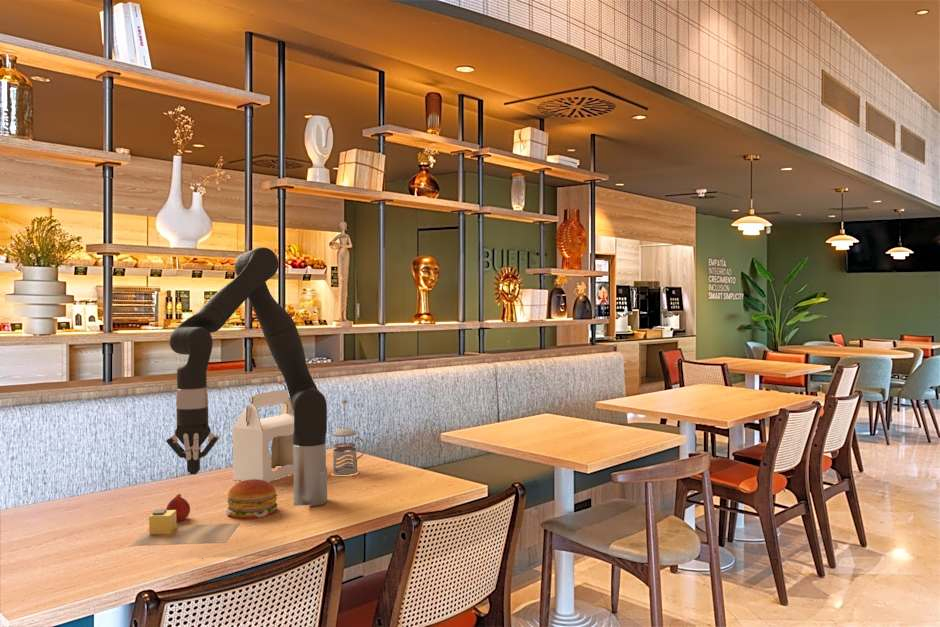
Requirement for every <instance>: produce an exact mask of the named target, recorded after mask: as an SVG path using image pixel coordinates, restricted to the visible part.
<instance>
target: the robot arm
mask: <svg viewBox="0 0 940 627" xmlns="http://www.w3.org/2000/svg"><path fill="white" fill-rule="evenodd" d="M279 263H280V262H279V259H278V256H277V255H276V253H275V252H274V251H273V250H272V249H271V248H268V247H257V248H253V249H250V250H248V251H247V252H243V253H241V254H239V255H238V256H237V257H236V259H235V262H234V270H235V274H236V276H235V277H234V279H232V280H231V281H229V283H227V284H226V285H224V286H223V287H222V288H221V289H220V290H218V291H217V292H216V293H214V295H212V296H211V297H210V298H209V299H208V301H206V302H205V304H204V305H203V306H202V307H201V308H200V309H199V310H198V312H196V313H195V314H193V315H191V316H190V317H189V318H186V320H184V321H182V322H181V323H180V324H179V325H177V326H176V328H174V329H173V331H172V333H171V335H170V338H169V346H170V348H171V350H172V351H173V352H174V353H176V354H179V355H188V358H187V362H186V363H185V364H182V365H179V366H178V368H177V370H176V382H177V383H176V389H177V390H176V397H175V398H176V400H175V401H176V402H175V406H176V428H175V431H174V434H173V435H171V436H169V437H168V438H167V439H166V443H167V444H168V446H169V447H170V448H171V449H172V450H173V452H174V453H175V454H176V455H177V456H178V458H181V459H185V460H186V465H187V466H186V470H187V473H189V475H197V474H198V473H199V472H200V470H201V458H205V457H206V456H207V455H208V454H209V452H210V451H211V450H212V448H213V447H214V446H215V444H216V443H217V442H218V441H219V439H220V436H219V435H217V434H216V435H215V434H214V433H212V431H211V428H210V426H209V392H208V388H207V387H208V386H207V385H208V384H207V383H208V380H207V379H208V378H207V370H208V367H209V365H210V364H209V363H210V358H211V355H212V350H213V344H214V342H213V341H214V340H213V336H212V335H211V334H212V333H216V332H218V331H219V330H220V329H221V328H222V327H223V326H225V324H226V323H227V322H228V321H229V319H230V318H231V317H232V316H233V314H234V313H235V312H236V311H237V310H238V309H239V307H241V306H242V304H243V303H245V301H246V300H247V299H248V300H249V303H250V304H251V307H252V309H253V311H254V314H255V316H256V319H257V321H258V323H259V326H260V329H261V330H262V334H263V336H264V339H265V341H266V344H267V346H268V349H269V351H270V354H271V355H272V358H273V359H274V362H275V364H276V365H277V367H278V369H279V371H280V372H281V374H282V377H283V379H284V381H285V385H286V388H287V389H286V390H287V391H288V396H289V397H290V400H291V404H292V408H293V410H294V434H293V475H292V476H293V504H294V505H295V506H310V507H316V506H321V505H324V504H325V503H327V500H328V468H327V458H326V457H327V453H326V452H327V450H326V449H327V445H326V444H327V442H326V441H327V440H326V439H327V433H328V432H327V431H328V430H327V429H328V425H327V424H328V405H327V400H326V397H325V395H324V394H323V393H322V392H321V391H320V390H319V389H318V387H317V385H316V383H315V381H314V379H313V377H312V375H311V373H310V370H309V368H308V367H309V366H308V365H307V360H306V355H305V350H304V346H303V342H302V339H301V335H300V333H299V331H298V328H297V326H296V323H295V321H294V319H293V317H291V315H290V314H289V313H288V311H286V310H285V308H283V307H282V306H281V304H279V303H278V301H276V299H275V298H274V297H273V295H272V294H271V291H270V290H269V288H268V284H267V282H268V281H270V279H271V278H272V277H274V276H275V275H276V274H277V272H278V269H279V265H280V264H279ZM207 438H208V439H207ZM206 440H207V442H208V444H207V445H206V446H204V447H205V448H203V450H202V446H203V445H202V444H204V442H205V441H206ZM179 442H180V443H181V444H182V445H183V446H184V448H183V447H182V446H181V445H180V443H179ZM325 505H326V504H325Z"/></svg>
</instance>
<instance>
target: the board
mask: <svg viewBox="0 0 940 627" xmlns="http://www.w3.org/2000/svg"><path fill="white" fill-rule="evenodd" d="M240 524H241V523H240V522H239V523H213V524H212V523H211V524H209V523H206V524H205V523H204V524H180V525H179V524H177V528H176V529H175V530H174V531H173V532H172V533H171V534H149V528H148V529H147V530H146V531H145V532H143V534H142V535H140V536H139V537H138V538H137V539H135V540H134V542H132V543H131V544H130V546H131V547H134V546H136V547H137V546H163V545H164V546H167V545H168V546H169V545H195V544H196V545H197V544H199V545H200V544H225V543H227V542H228V541H229V539H230V538H231V536H232V535H233V534H234V533H235V531H236V529H237V528H238V527H239V525H240Z"/></svg>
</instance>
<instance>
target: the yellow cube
mask: <svg viewBox="0 0 940 627" xmlns="http://www.w3.org/2000/svg"><path fill="white" fill-rule="evenodd" d="M148 522H149V523H148V529H149V534H171V533H172V532H173V531H174V530H175V529H176V528H177V525H178V524H177V523H178V522H176V510H166V508H165V509H163V508H162V509H156V510H155V511H153V512H152V513H151V514H149V516H148Z"/></svg>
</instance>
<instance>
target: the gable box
mask: <svg viewBox="0 0 940 627" xmlns="http://www.w3.org/2000/svg"><path fill="white" fill-rule="evenodd" d="M248 399H249V401H250V403H249V404H247V405H246V406H245V407H244V408H243V411H242V412H241V414H240V415H239V417H238V418H237V420H236V421H235V423H234V425H233V426H232V471H233V472H232V477H233V478H232V480H233V479H235V480H234V481H237V480H241V481H240V482H242V481H245V480H252V479H258V480H264V481H267V482H269V483H271V482H270V481H273V480H276V479H279V478H282V477H285V476H288V475H291V474H293V434H294V410H293V408H292V404H291V400H290V396H289V392H288V389H281V390H275V391H267V392H260V393H256V394H253V395H252V397H249V398H248ZM280 404H282V407H281V408H280V409H281V410H280V414H279V415H278V414H277V415H274V416H269V417H264V418H260V416H259V413H258V409H260V408H265V407H269V406H275V405H280ZM271 441H272V442H271ZM270 442H271V446H270V447H269V445H270ZM270 451H271V452H270ZM276 466H282V467H281V468H279V469H278V470H276V471H272V469H271V468H273V469H274V468H275V467H276ZM288 477H289V476H288ZM285 478H286V477H285ZM282 479H283V478H282ZM279 480H280V479H279ZM276 481H277V480H276ZM273 482H274V481H273Z"/></svg>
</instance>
